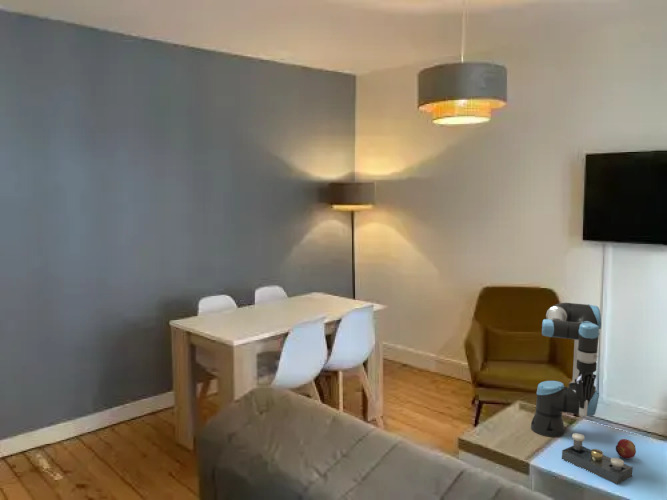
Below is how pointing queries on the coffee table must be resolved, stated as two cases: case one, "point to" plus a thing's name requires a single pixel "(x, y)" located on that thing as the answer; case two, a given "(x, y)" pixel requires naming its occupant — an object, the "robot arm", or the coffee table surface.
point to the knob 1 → (578, 441)
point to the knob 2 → (617, 463)
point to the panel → (597, 465)
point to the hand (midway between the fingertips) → (582, 414)
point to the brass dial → (596, 455)
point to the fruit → (626, 449)
